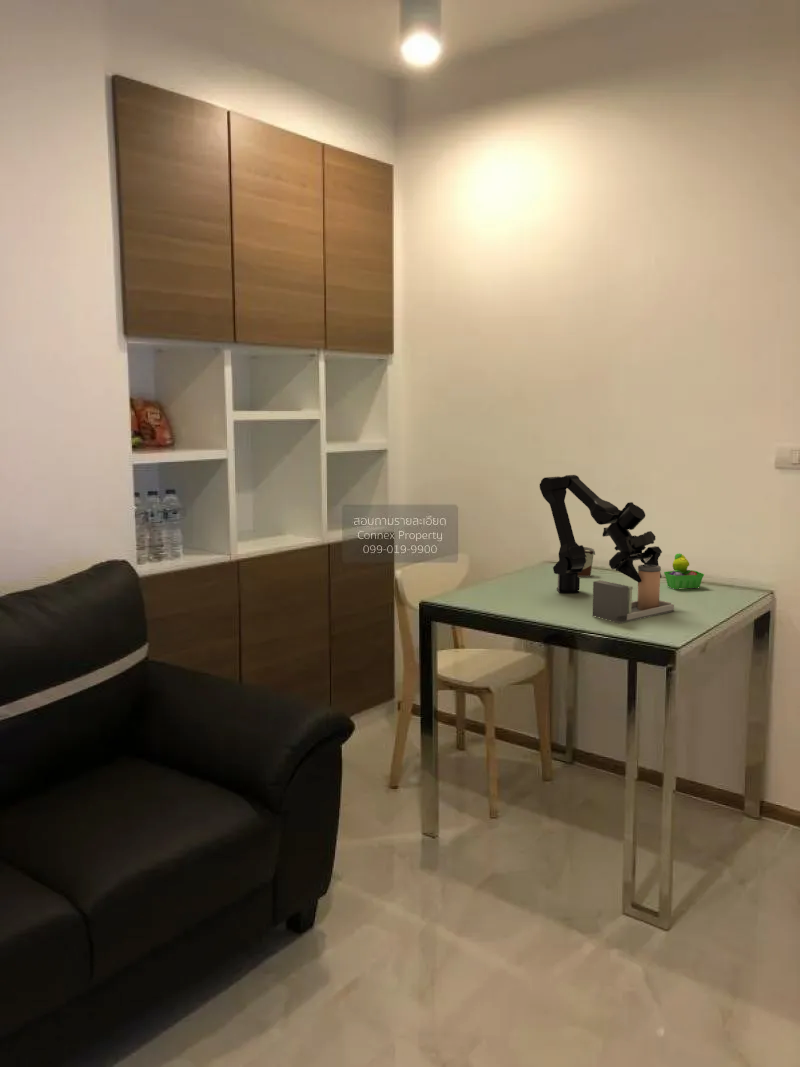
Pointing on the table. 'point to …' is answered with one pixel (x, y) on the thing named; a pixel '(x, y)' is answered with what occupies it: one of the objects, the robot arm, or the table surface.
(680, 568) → the fruit basket
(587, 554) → the food container
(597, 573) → the table surface
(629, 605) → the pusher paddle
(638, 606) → the jar
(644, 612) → the lane
